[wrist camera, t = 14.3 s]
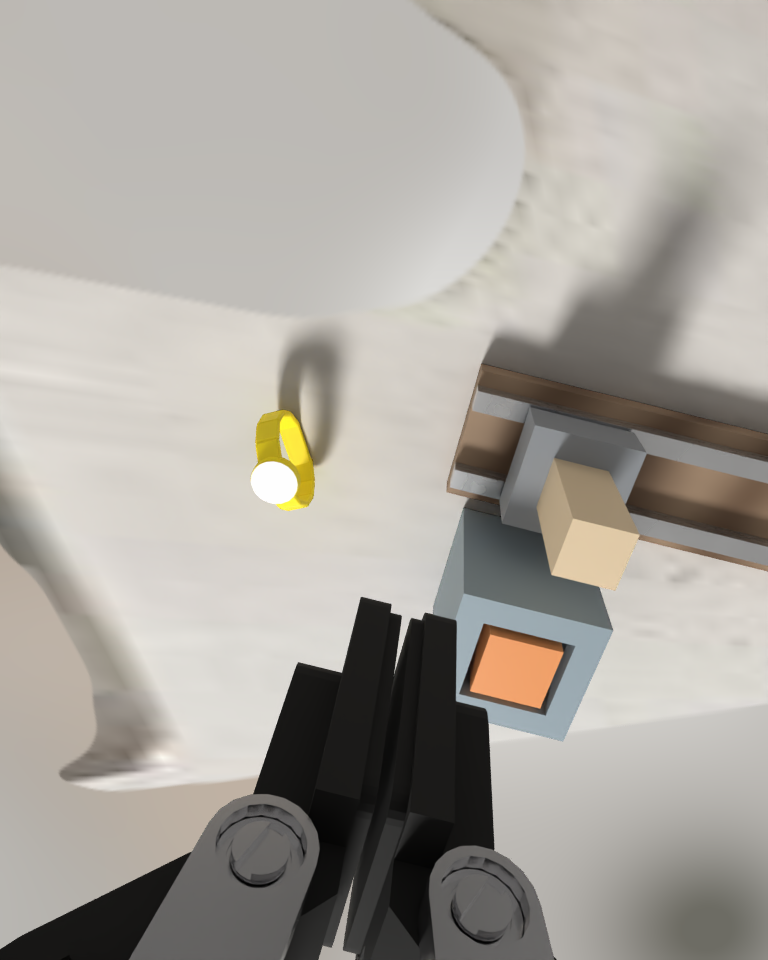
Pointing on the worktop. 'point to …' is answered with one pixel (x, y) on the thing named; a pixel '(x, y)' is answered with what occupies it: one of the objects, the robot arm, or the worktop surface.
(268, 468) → the watch
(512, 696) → the button
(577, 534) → the carriage
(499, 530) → the end cabinet
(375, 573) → the worktop surface
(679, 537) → the rail board
